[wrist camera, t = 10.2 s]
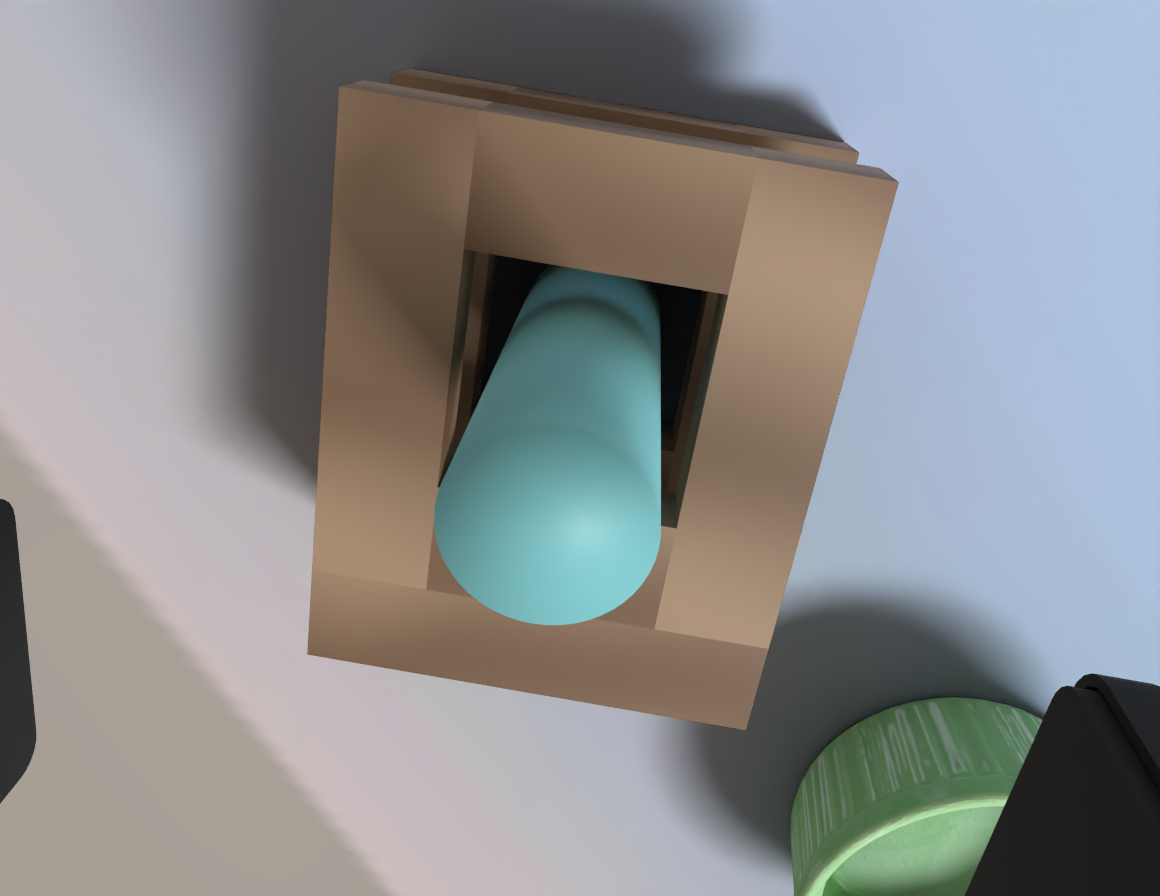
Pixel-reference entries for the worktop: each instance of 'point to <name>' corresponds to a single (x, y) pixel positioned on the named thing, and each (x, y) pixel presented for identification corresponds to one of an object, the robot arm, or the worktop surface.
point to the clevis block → (457, 355)
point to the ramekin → (908, 799)
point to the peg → (562, 456)
